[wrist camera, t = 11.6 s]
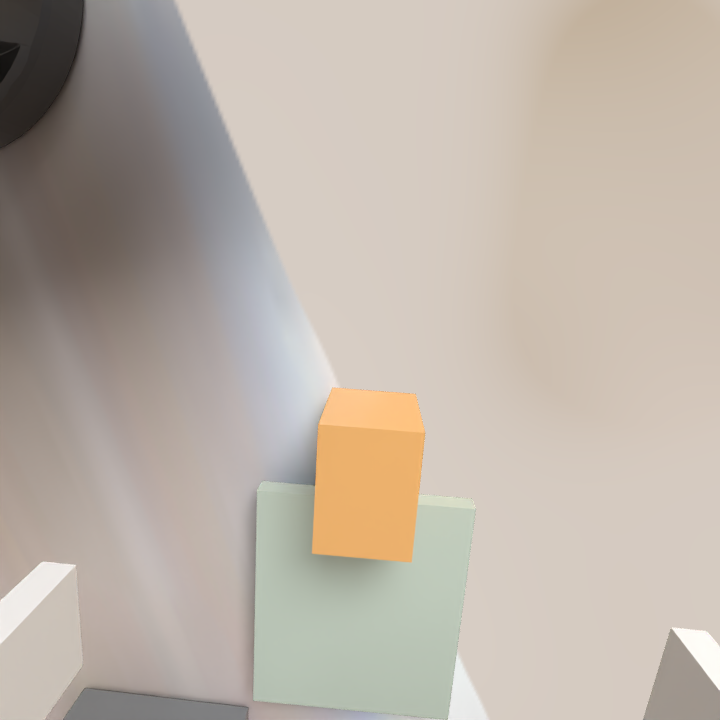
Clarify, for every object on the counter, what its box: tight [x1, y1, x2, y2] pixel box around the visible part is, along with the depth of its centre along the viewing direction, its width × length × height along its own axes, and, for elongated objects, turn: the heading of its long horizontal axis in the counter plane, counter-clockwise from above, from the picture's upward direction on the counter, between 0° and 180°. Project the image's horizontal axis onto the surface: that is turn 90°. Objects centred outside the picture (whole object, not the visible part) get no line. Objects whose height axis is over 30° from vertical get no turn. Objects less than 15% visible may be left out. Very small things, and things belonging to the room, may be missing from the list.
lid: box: [253, 388, 476, 720], centre depth 22 cm, size 18×11×6 cm, turn 176°
